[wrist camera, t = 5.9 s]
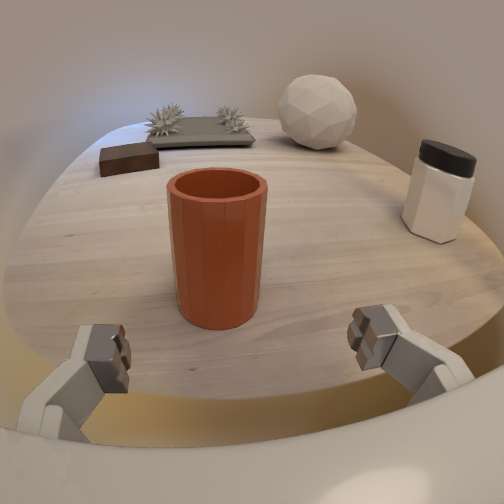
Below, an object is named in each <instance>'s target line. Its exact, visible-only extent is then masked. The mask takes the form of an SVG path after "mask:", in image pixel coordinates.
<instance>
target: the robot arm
mask: <svg viewBox="0 0 504 504" xmlns="http://www.w3.org/2000/svg"><path fill="white" fill-rule="evenodd" d="M352 316H353V318H354V321H353V322H352V323H351V324H349V327H348V331H347V338H348V342H349V345H350V347H351V349H353V350H354V351H356V352H357V354H356V359H357V361H358V364H359V366H360V368H361V370H362V371H363V370H368V369H373V368H378V367H381V368H382V369H383V370H384V371H385V372H387V373H388V374H389V375H390V376H392V377H393V378H394V379H395V380H397V381H398V382H399V383H400V384H402V385H403V386H404V387H405V388H407V389H408V390H409V391H410V392H412V393H413V394H414V396H413V398H412V399H411V400H410V401H409V403H408V405H407V406H408V407H406V408H403V409H400V410H397V411H394V412H391V413H388V414H385V415H381V416H378V417H375V418H372V419H368V420H364V421H361V422H357V423H353V424H349V425H345V426H341V427H337V428H333V429H328V430H324V431H320V432H315V433H310V434H304V435H299V436H294V437H288V438H282V439H275V440H268V441H261V442H253V443H244V444H235V445H223V446H209V447H185V448H147V447H125V446H124V447H123V446H110V445H99V444H90V442H89V440H88V439H87V438H86V437H85V435H84V434H83V433H82V432H81V431H80V430H79V429H80V428H81V426H82V425H83V424H84V422H85V421H86V419H87V418H88V417H89V415H90V414H91V413H92V411H93V410H94V408H95V407H96V406H97V405H98V403H99V402H100V400H101V399H102V398H103V396H104V395H105V394H104V393H128V384H129V376H128V373H127V370H128V369H129V368H130V367H131V351H130V346H129V342H128V341H127V340H126V339H124V338H125V330H124V327H123V326H122V325H108V324H81V325H80V326H79V328H78V331H77V335H76V338H75V341H74V344H73V348H72V351H71V355H70V358H69V360H65V361H64V362H62V363H61V364H60V365H59V366H58V367H57V368H56V369H55V370H54V371H53V372H52V373H51V374H50V375H49V376H48V377H46V378H45V379H44V380H43V381H42V382H41V383H40V384H39V385H38V386H37V387H36V388H35V389H34V390H33V391H32V392H31V393H30V394H29V395H28V396H27V397H26V398H24V400H23V403H22V407H21V410H20V414H19V418H18V422H17V426H16V430H12V429H7V428H4V427H0V504H504V365H502V366H500V367H499V368H496V369H495V370H492V371H491V372H489V373H487V374H485V375H483V376H481V377H479V378H477V379H475V377H474V376H473V374H472V373H471V371H470V370H469V369H468V367H467V365H466V364H465V362H464V361H463V360H462V358H461V357H460V356H459V355H457V354H455V353H453V352H452V351H450V350H448V349H446V348H445V347H443V346H441V345H440V344H438V343H436V342H434V341H433V340H431V339H429V338H427V337H426V336H424V335H422V334H420V333H419V332H417V331H412V330H411V329H410V327H409V326H408V324H407V323H406V321H405V320H404V318H403V317H402V315H401V314H400V313H399V311H398V310H397V308H396V307H395V305H394V304H392V303H386V304H380V305H374V306H367V307H360V308H356V309H355V310H354V313H353V315H352Z"/></svg>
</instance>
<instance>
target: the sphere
mask: <svg viewBox="0 0 504 504" xmlns="http://www.w3.org/2000/svg"><path fill="white" fill-rule="evenodd" d="M278 112H279V116H280V121H281V125H282V129H283V131H284V132H285V133H286V134H288V135H289V136H290V137H291V138H292V139H293V140H294V141H296V142H297V143H299V144H301V145H304V146H307V147H310V148H313V149H316V150H320V149H325V148H330V147H335V146H338V145H339V144H340V143H341V142H342V141H343V140H344V139H345V138H346V137H348V136H349V135H350V134H351V133H352V131H353V128H354V123H355V119H356V114H357V109H356V106H355V103H354V101H353V98H352V95H351V93H350V92H349V91H348V90H347V89H346V88H345V87H344V86H343V85H342V84H341V83H339V81H338V80H337V79H336V78H333V77H327V76H320V75H312V74H310V75H306V76H303V77H299V78H296V79H295V80H294V81H293V82H292V83H291V84H290V85H289V86H288V87H287V88H286V89H285V91H284V92H283V94H282V96H281V99H280V103H279V105H278Z"/></svg>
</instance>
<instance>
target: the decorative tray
mask: <svg viewBox="0 0 504 504" xmlns="http://www.w3.org/2000/svg"><path fill="white" fill-rule="evenodd" d="M178 108H179V106H178V107H177V104H176V106H175V107H174V109H173V104H172V107H171V108H170V107H169V106H168V109H169V110H168V109H167V108H166V107H165V109H166V110H167V111H165V109H164V107H163V110H162V111H163V112H162V114H160V112H159V111H158V110H157V116H158V117H156V116H155V115H154V114H152V113H151V114H152V116H153V117H154V119H155V120H153V119H148V120H149V121H151V122H152V123H154V124H146V125H145V126H150V127H153V128H152V129H150V130H148V131H146V132H147V133H148V132H150V133H151V134H150V135H149V136H147V137H148V139H147V140H146V142H150V141H151V142H152V143H153V145H154V146H155V148H164V147H182V146H208V145H251V144H252V143H253V142H255V141H256V139H255V138H254V137H253V136H252V135H251V134H250V133H249V131H248V130H246V129H245V128H247V127H245V126H247V124H245V125H242V124H243V123H244V121H245V120H241V119H238V118H239V117H241V115H240V113H241V112H240V113H238V114H235V113H236V111H237V110H238V109H237V110H236V111H235V112H234V109H235V108H233V110H232V111H231V109H230V107H229V108H228V107H227V108H228V109H227V108H226V109H225V106H224V109H223V107H222V109H220V108H219V109H220V111H219V110H218V111H219V112H218V115H217V116H219V117H185V118H180V116H184V115H180V113H182V112H183V111H181V110H182V109H180V110H178ZM165 113H166V114H165ZM238 115H240V116H238ZM242 119H243V118H242ZM238 121H239V122H238ZM241 121H243V122H242V123H241ZM248 127H250V126H248ZM144 133H145V132H144Z"/></svg>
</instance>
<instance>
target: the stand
mask: <svg viewBox="0 0 504 504" xmlns="http://www.w3.org/2000/svg"><path fill="white" fill-rule="evenodd" d="M99 166H100V174H101V177H105V176H111V175H117V174H123V173H129V172H136V171H143V170H150V169H157V168H159V153H158V151H157V150H156V148H155V146H154V145H153V143H152V142H151V141H150V142H142V143H135V144H127V145H121V146H114V147H108V148H102V149H101V151H100V158H99Z"/></svg>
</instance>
